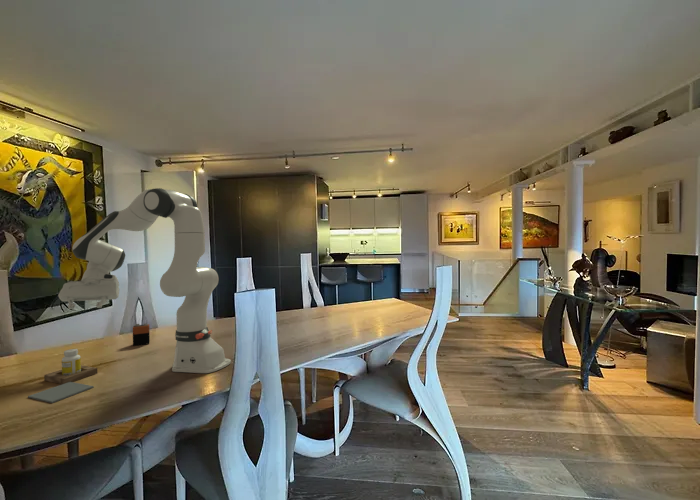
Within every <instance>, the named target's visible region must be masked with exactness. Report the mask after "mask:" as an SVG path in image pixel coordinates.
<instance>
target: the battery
mask: <svg viewBox="0 0 700 500" xmlns="http://www.w3.org/2000/svg"><path fill="white" fill-rule="evenodd" d="M150 335H151V334H150V324H149V323H147V322H146V323H143V324H140V323H135V324H134V325H133V326H132V346H133V347H136V346H145V345H149V344H150V343H151V342H150V341H151V340H150Z"/></svg>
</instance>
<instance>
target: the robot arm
mask: <svg viewBox="0 0 700 500" xmlns="http://www.w3.org/2000/svg"><path fill="white" fill-rule="evenodd" d="M159 217H162V218H163V219H164V218H165V219H167V218H170V219H171V220H172V221H173V225H174V226H173V227H174V229H173V232H174V252H173V256H172V257H173V258H172V260H171V264H170V265H169V267H168V268H167V270H166V271H165V272H164V273H163V274H162V275H161V277H160V281H159V287H160V290H161V291H162V293H163V294H164V295H165V296H168V297H170V298H171V297H173V298H183V297H184V300H183V303H182V304H181V305H180V306H179V307H178V308H177V310H176V312H175V313H176V314H175V315H176V329H175V334H174V335H175V336H174V337H175V340H176V343H175V349H174V357H173V359H174V360H173V363H172V368H171V371H172V372H174V373H191V374H192V373H195V374H209V373H210V374H211V373H214V372H216V371H219V370H221V369H224V368H225V367H227V366H229V365H230V364H231V363H232V360H231V359H230V358H226V357H225V356H226V355H225V350H224V347H222V346H221V345H220V344H218V342H216V340H215V339H213V338H212V337H211V334H212V332H213V330H212V329H211V330H210V329H209V328H208V325H207V324H208V319H207V318H208V306H209V301H210V298H211V296H212V294H213V291H214V289H216V287H217V286H218V284H219V281H220V280H219V274H218V272H217V271H216V270H215V269H214V268H212V267H211V268H210V267H206V266H198V263H199V260H200V259H201V257H202V256H203V255H205V252H206V238H205V235H206V234H205V223H204V218H203V213H202V211H201V210H200V208H198V203H197V200H196V199H195V197H193V196H192V195H190V194H187V193H182V192H179V191H177V190H174V189H173V190H171V189H167V188H165V189H164V188H161V187H159V188H158V187H157V188H156V187H155V188H148V189H145V190H143V191H142V192H141V193H140V194H138V195H137V196H136V197H135V198H134V199H133V200H132V202H130V204H129V205H128V206H127V207H126V208H125V209H121V210H114V211H112V212H110V213H109V214H108V215H107V216H105V217H103V218H102V220H100V221H99V222H97V224H95V226H93V227H92V228H91V229H90V230H88V231H87V232H86V233H84V234H83V235H82V236H81V237H79V238H78V239H77V240H75V242H74V243H73V246H72V248H71V252H72V253H73V255H74V256H75V258H77V259H81V260H84V261H87V262H88V263H87V265H86V270H85V271H84V273H83V275H82V278H81V280H76V281H74V280H73V281H72V280H70V281H68V282H66V283H65V282H64V284H63V285H62V288H61V289H60V291H59V292H58V295H57V297H58V298H59V300H60V301H61V302H67V303H68V306H67V308H68V310H75V307H76V305H75V302H82V301H84V302H85V301H97V302H96V305H95V306H96V308H97V309H101V308H103V306H104V305H105V304H106V302H108V300H110V301H112V300H116V299H119V296H120V288H119V287H120V283H119V279H118V277H117V276H116V275H115V274H110V272H115V271H117V270H119V269H120V268H121V267H122V266H123V264H124V262H125V259H126V252H125V250H124V249H123V248H121V247H119V246H116V245H113V244H112V243H111V244H110V243H108V242H106V241H104V240H103V241H102V240H100V238H102V237H103V236H104V235H105V234H106V233H108V232H110V231H112V230H125V231H131V232H143V231H146V230H148V229H150V227H151V226H152V225H153V224H154V223H155V222H156V220H158V218H159ZM98 301H99V302H98Z"/></svg>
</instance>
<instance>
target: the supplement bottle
mask: <svg viewBox="0 0 700 500" xmlns="http://www.w3.org/2000/svg"><path fill="white" fill-rule="evenodd" d="M78 353H79V350H78V348H72V349H66V350H64V351H63V357H62V359H61V370H62V375H65V376H68V375H72V374H75V373H78V372H81V365H82V364H81V363H82V361H81V355H80V354H78Z"/></svg>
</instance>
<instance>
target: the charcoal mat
mask: <svg viewBox="0 0 700 500" xmlns="http://www.w3.org/2000/svg"><path fill="white" fill-rule="evenodd" d="M93 388H94V385H89V384H84V383H79V382H76V381H73V382H68V383H65V384H59V385H57V386H54V387H50V388H47V389H45V390H42V391H39V392H36V393H33V394H30V395H27V398H28V399H33V400H36V401H39V402H40V401H42V402H46V403H50V404H54V403H57V402H59V401H62V400H65V399H68V398H70V397H72V396H75V395H78V394H80V393H83V392H87V391H88V390H91V389H93Z"/></svg>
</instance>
